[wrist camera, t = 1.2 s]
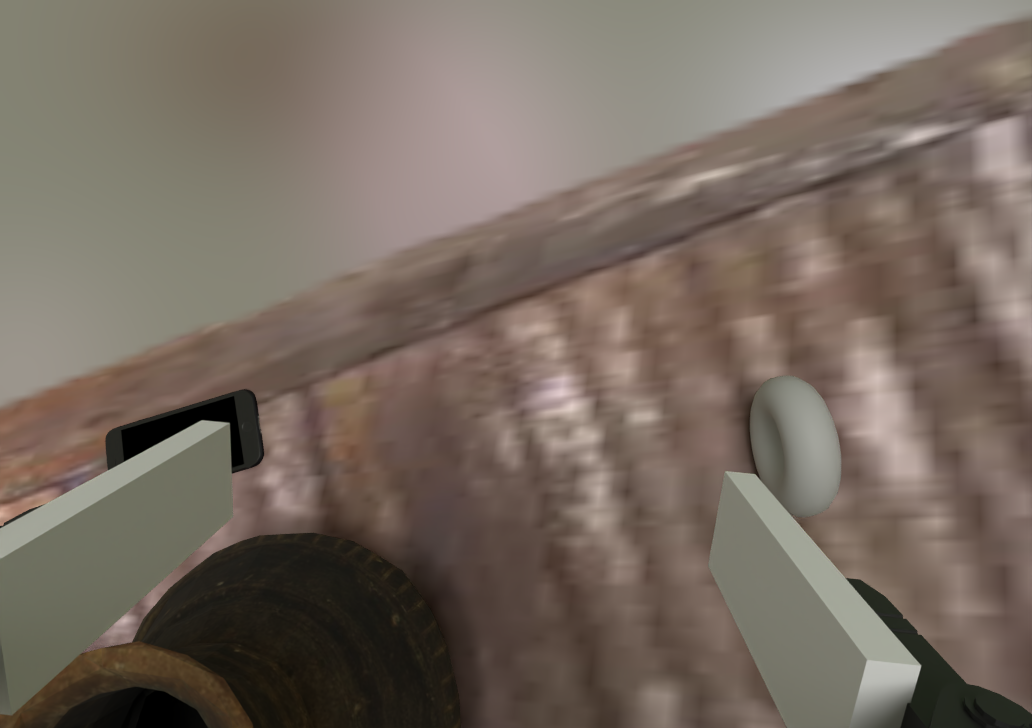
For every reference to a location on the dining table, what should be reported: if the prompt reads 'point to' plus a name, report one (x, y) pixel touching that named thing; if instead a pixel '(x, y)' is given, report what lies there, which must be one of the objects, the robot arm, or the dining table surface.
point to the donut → (795, 445)
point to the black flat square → (158, 428)
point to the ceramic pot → (267, 649)
